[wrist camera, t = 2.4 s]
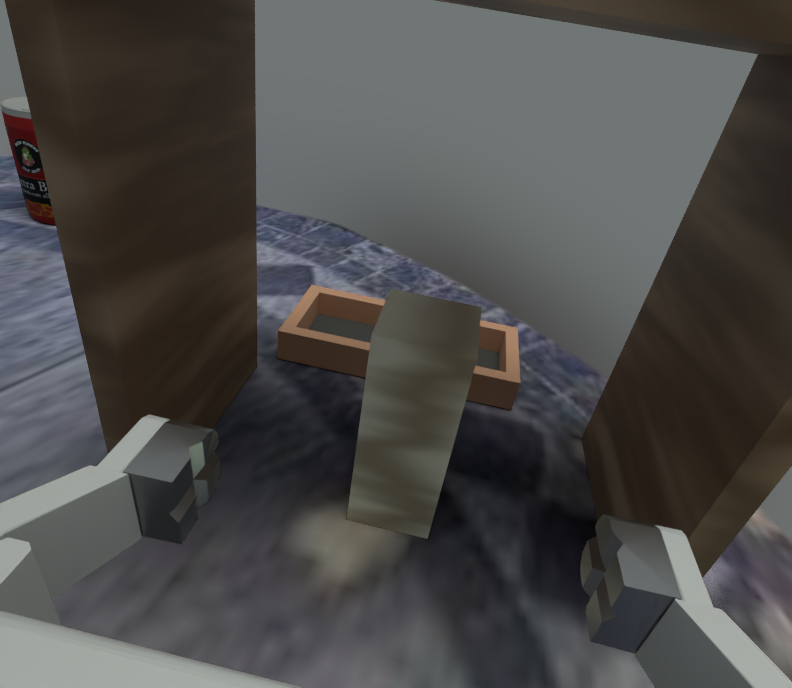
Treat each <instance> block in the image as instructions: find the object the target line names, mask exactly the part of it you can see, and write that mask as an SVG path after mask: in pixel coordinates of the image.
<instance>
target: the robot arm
mask: <svg viewBox="0 0 792 688" xmlns="http://www.w3.org/2000/svg"><path fill="white" fill-rule="evenodd" d="M218 445H219V437H218V432H217V431H215V430H213V429H209V428H205V427H200V426H196V425H192V424H188V423H184V422H180V421H176V420H172V419H171V420H170V419H166V418H162V417H158V416H154V415H150V414H149V415H147V416H145V417H143V418H141V419H140V420H139V421H138V423H137V424H136V425H135V426H134V427H133V428H132V429H131V430H130V431H129V432H128V433H127V434H126V435H125V436H124V437H123V439H122V440H121V441H120V442H119V443H118V444H117V445H116V446H115V447H114V448H113V449H112V450H111V451H110V452H109V453H108V455H107V456H106V457H105V458H104V459H103V460H102V461H101V462H100V463H99V464H98V465H97V466H91V465H89V466H87V467H84V468H82V469H80V470H77V471H75V472H72V473H70V474H68V475H65V476H63V477H61V478H58V479H56V480H54V481H51V482H49V483H47V484H44V485H42V486H40V487H37V488H35V489H33V490H30V491H28V492H26V493H23V494H21V495H18V496H16V497H14V498H11V499H9V500H7V501H4V502H2V503H0V688H303V687H299V686H295V685H291V684H287V683H283V682H279V681H275V680H271V679H267V678H263V677H259V676H256V675H252V674H248V673H244V672H240V671H236V670H232V669H228V668H224V667H220V666H216V665H212V664H209V663H205V662H201V661H197V660H193V659H189V658H185V657H181V656H177V655H173V654H169V653H165V652H162V651H158V650H154V649H150V648H146V647H142V646H138V645H134V644H130V643H126V642H122V641H119V640H115V639H111V638H107V637H103V636H99V635H95V634H91V633H87V632H83V631H79V630H75V629H72V628H68V627H64V626H61V618H60V616H59V614H58V611H57V609H56V606H55V604H54V601H53V598H54V597H56V596H57V595H59V594H60V593H62V592H63V591H65V590H66V589H68V588H69V587H71V586H72V585H74V584H75V583H77V582H78V581H80V580H81V579H83V578H84V577H86V576H87V575H89V574H90V573H91V572H93V571H94V570H96V569H97V568H99V567H100V566H102V565H103V564H105V563H106V562H108V561H109V560H111V559H112V558H114V557H115V556H117V555H118V554H120V553H121V552H123V551H124V550H126V549H127V548H129V547H130V546H132V545H133V544H135V543H136V542H138V541H139V540H141V539H142V536H144V537H149V538H154V539H159V540H163V541H168V542H173V543H178V544H182V543H183V541H184V540H185V538H186V537H187V535H188V534H189V532H190V530H191V529H192V527H193V526H194V524H195V522H196V521H197V519H198V513H197V508H198V507H199V506H201V505H203V504H205V503H207V502H208V501H209V500H210V498H211V496H212V495H213V493H214V491H215V489H216V486H217V483H218V481H219V478H220V471H221V459H220V457H219V456H218V455H217V454H216V453H215V449H216V448H217V446H218ZM595 529H596V534H597V536H596V537H594V538H592V539H590V540H588V541H587V543H586V545H585V548H584V550H583V553H582V559H581V564H580V565H581V582H582V588H583V589H584V590H585V592H586V593H587V594H588V595H589V597H590V598H591V599H590V601H589V603H588V604H587V606H586V608H585V610H586V616H587V622H588V629H589V635H590V641H591V642H594V643H598V644H602V645H606V646H609V647H613V648H617V649H621V650H625V651H628V652H632V653H636V654H635V657H636V658H637V660H638V661H639V663H640V665H641V666H642V668H643V669H644V671H645V672H646V674H647V675H648V677H649V679H650V680H651V682H652V683H653V685H654V686H655V688H792V682H791V681H790V680H789V679H788V677H787V676H786V675H785V674H784V673H783V672H782V671H781V670H780V669H779V668H778V667H777V666H776V665H775V664H774V663H773V662H772V661H771V660H770V659H769V658H768V657H767V656H766V655H765V654H764V653H763V652H762V651H761V650H760V649H759V648H758V646H757V645H756V644H755V643H754V642H753V641H752V640H751V639H750V638H749V637H748V636H747V635H746V634H745V633H744V632H743V631H742V630H741V629H740V628H739V627H738V626H737V625H736V624H735V623H734V622H733V621H732V620H731V619H730V618H729V617H728V615H727V614H726V613H725V612H724V611H723V610H721V609H717V608H714V607H713V605H712V602H711V599H710V597H709V594H708V591H707V589H706V586H705V584H704V581H703V578H702V576H701V573H700V571H699V568H698V565H697V563H696V560H695V558H694V555H693V552H692V550H691V547H690V545H689V542H688V539H687V537H686V535H685V534H684V533H683V532H682V531H681V530H677V529H672V528H667V527H662V526H658V525H652V524H648V523H643V522H639V521H634V520H629V519H624V518H619V517H614V516H610V515H605V514H604V515H602V516H601V517H600V518H599V520H598V521H597V523H596V525H595Z"/></svg>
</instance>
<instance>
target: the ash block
mask: <svg viewBox="0 0 792 688" xmlns="http://www.w3.org/2000/svg"><path fill="white" fill-rule="evenodd" d="M480 318H481V307H477V306H473V305H468V304H463V303H458V302H453V301H448V300H444V299H439V298H434V297H429V296H424V295H419V294H415V293H410V292H405V291H400V290H395V289H390V292H389V294H388V297H387V299H386V301H385V304H384V306H383V308H382V311H381V313H380V316H379V318H378V320H377V323H376V325H375V327H374V330H373V332H372V335H371V342H370V349H369V357H368V364H367V372H366V379H365V386H364V394H363V401H362V409H361V416H360V423H359V431H358V438H357V446H356V453H355V460H354V468H353V475H352V483H351V490H350V498H349V505H348V512H347V520H350V521H354V522H358V523H363V524H367V525H371V526H375V527H379V528H383V529H388V530H392V531H396V532H400V533H404V534H408V535H412V536H417V537H421V538H425V539H428V536H429V532H430V528H431V525H432V521H433V517H434V514H435V510H436V507H437V503H438V499H439V496H440V492H441V488H442V485H443V481H444V478H445V474H446V470H447V467H448V463H449V459H450V456H451V452H452V449H453V445H454V441H455V438H456V434H457V430H458V427H459V423H460V420H461V416H462V412H463V409H464V405H465V401H466V398H467V394H468V391H469V387H470V383H471V380H472V376H473V373H474V369H475V365H476V362H477V358H478V346H479V332H480Z"/></svg>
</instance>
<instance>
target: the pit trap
mask: <svg viewBox="0 0 792 688" xmlns="http://www.w3.org/2000/svg"><path fill="white" fill-rule="evenodd" d="M385 301H386V300H381V299H376V298H372V297H367V296H362V295H357V294H353V293H348V292H343V291H338V290H334V289H329V288H324V287H319V286H314V285H311V287H310V288H309V289H308V291H307V292H306V293H305V295H304V296H303V297H302V299H301V300H300V302H299V303H298V304H297V306H296V307H295V308H294V310H293V311H292V313H291V314H290V315H289V317H288V318H287V319H286V321H285V322H284V323H283V325H282V326H281V328H280V329H279V330H278V358H279V359H283V360H288V361H292V362H297V363H301V364H306V365H310V366H315V367H319V368H324V369H328V370H333V371H338V372H342V373H347V374H351V375H356V376H360V377H365V378H366V372H367V364H368V357H369V349H370V342H371V335H372V332H373V330H374V327H375V325H376V323H377V320H378V318H379V316H380V313H381V311H382V308H383V306H384V304H385ZM519 386H520V367H519V349H518V330H517V328H515V327H510V326H505V325H500V324H496V323H491V322H486V321H481V320H480V332H479V346H478V358H477V362H476V365H475V369H474V373H473V376H472V380H471V383H470V387H469V391H468V394H467V398H466V400H469V401H473V402H478V403H482V404H487V405H491V406H496V407H500V408H505V409H509V410H511V409H512V406H513V403H514V400H515V397H516V394H517V392H518V389H519Z"/></svg>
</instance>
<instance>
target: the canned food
mask: <svg viewBox="0 0 792 688" xmlns="http://www.w3.org/2000/svg"><path fill="white" fill-rule="evenodd" d="M1 106H2V114H3V118H4V122H5V127H6V130H7V134H8V138H9V142H10V145H11V149H12V153H13V157H14V161H15V165H16V169H17V172H18V176H19V180H20V184H21V188H22V192H23V195H24V199H25V203H26V207H27V210H28V211H29V213H30V214H31V216H32V217H33V218H34V219H36V220H37V221H40V222H42V223H46V224H52V225H56V223H55V219H54V214H53V210H52V205H51V201H50V197H49V192H48V188H47V184H46V179H45V175H44V170H43V166H42V162H41V157H40V153H39V149H38V144H37V140H36V135H35V131H34V127H33V122H32V118H31V114H30V109H29V105H28V100H27V97H17V98H11V99H7V100H4V101H2V102H1Z"/></svg>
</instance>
